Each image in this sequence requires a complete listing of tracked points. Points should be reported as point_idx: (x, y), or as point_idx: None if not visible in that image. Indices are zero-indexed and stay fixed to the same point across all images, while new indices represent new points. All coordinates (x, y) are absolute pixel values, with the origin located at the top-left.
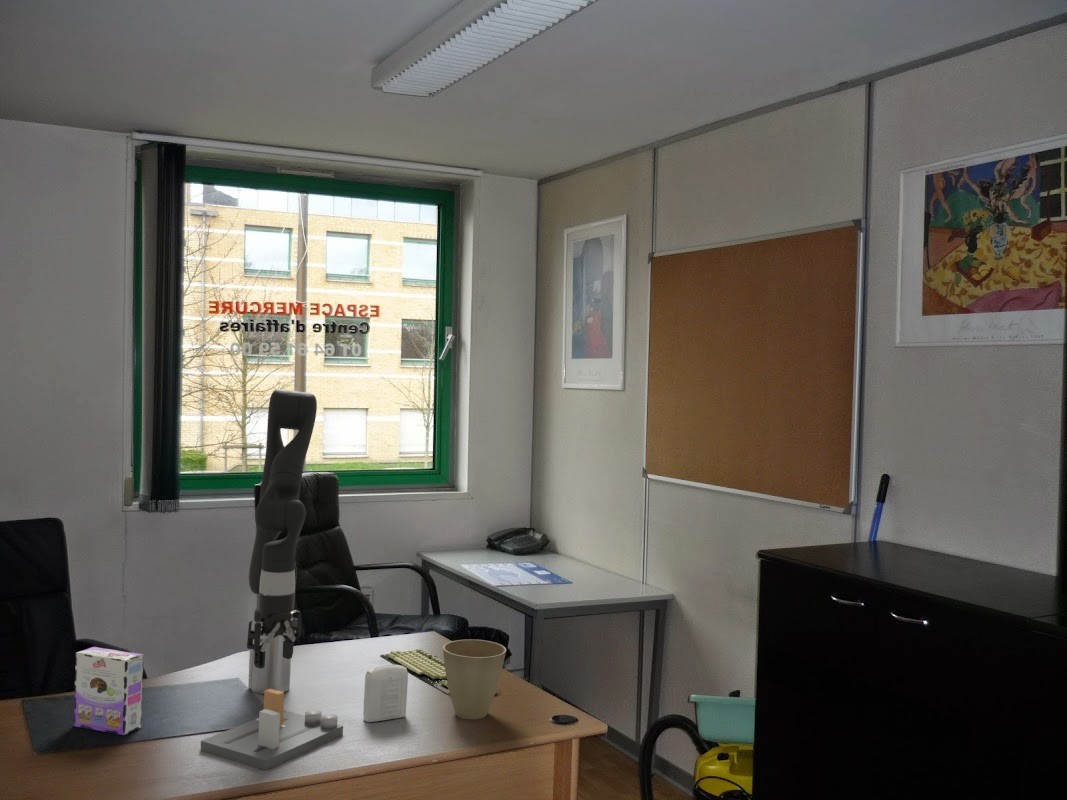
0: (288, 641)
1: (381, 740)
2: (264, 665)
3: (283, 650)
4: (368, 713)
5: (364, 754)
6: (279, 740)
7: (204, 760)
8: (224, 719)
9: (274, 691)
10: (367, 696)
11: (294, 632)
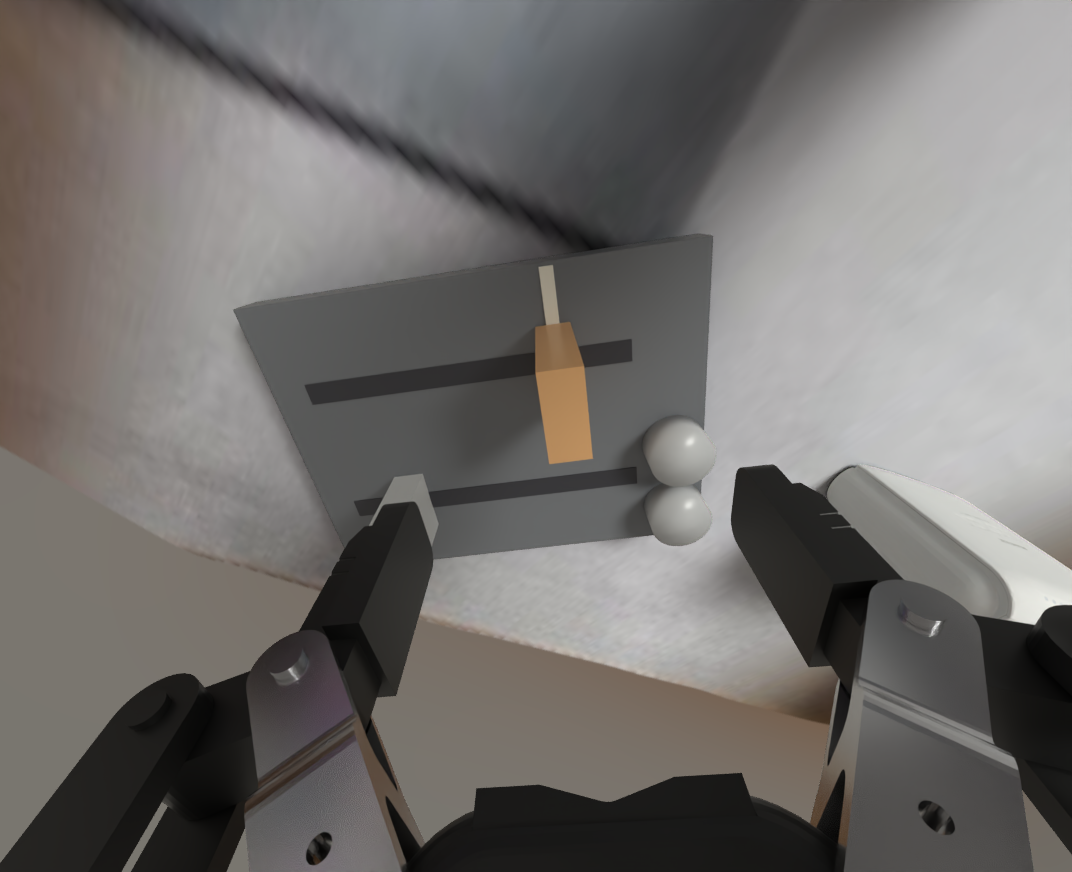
0: (835, 643)
1: (715, 594)
2: (426, 576)
3: (771, 509)
4: (844, 512)
5: (611, 620)
6: (467, 495)
7: (238, 387)
8: (516, 18)
9: (566, 419)
10: (890, 548)
11: (1050, 744)
